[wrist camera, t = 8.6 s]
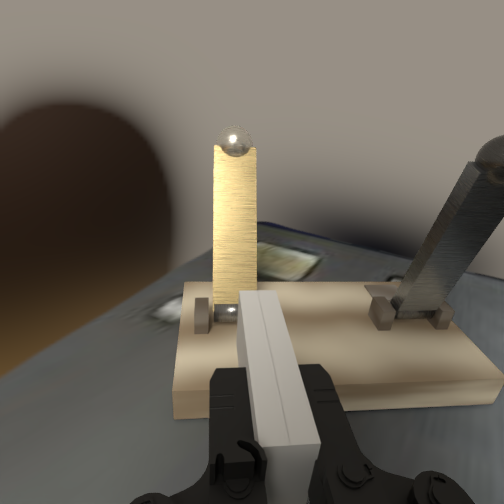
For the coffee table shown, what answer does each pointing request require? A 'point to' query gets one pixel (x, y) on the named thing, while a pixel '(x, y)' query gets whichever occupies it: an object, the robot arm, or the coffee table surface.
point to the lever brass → (233, 221)
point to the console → (342, 348)
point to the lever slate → (455, 235)
